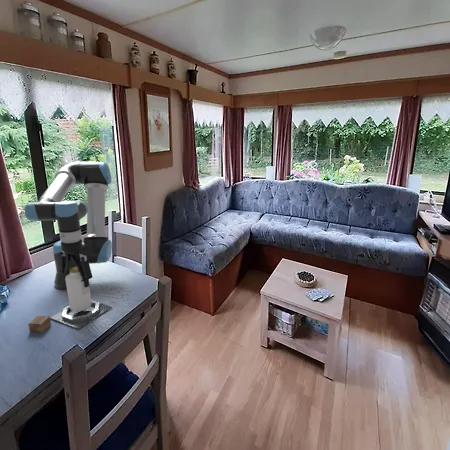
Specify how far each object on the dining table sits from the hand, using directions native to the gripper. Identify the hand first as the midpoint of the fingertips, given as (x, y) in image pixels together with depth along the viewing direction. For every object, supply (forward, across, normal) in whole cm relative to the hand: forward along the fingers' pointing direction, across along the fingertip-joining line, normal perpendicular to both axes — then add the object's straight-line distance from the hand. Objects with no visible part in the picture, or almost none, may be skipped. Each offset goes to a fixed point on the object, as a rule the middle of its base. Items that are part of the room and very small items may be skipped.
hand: (78, 290), depth 116 cm
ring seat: (+11, 0, 0) cm, 11 cm away
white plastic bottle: (+8, 0, 0) cm, 8 cm away
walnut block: (+11, -6, -14) cm, 19 cm away
